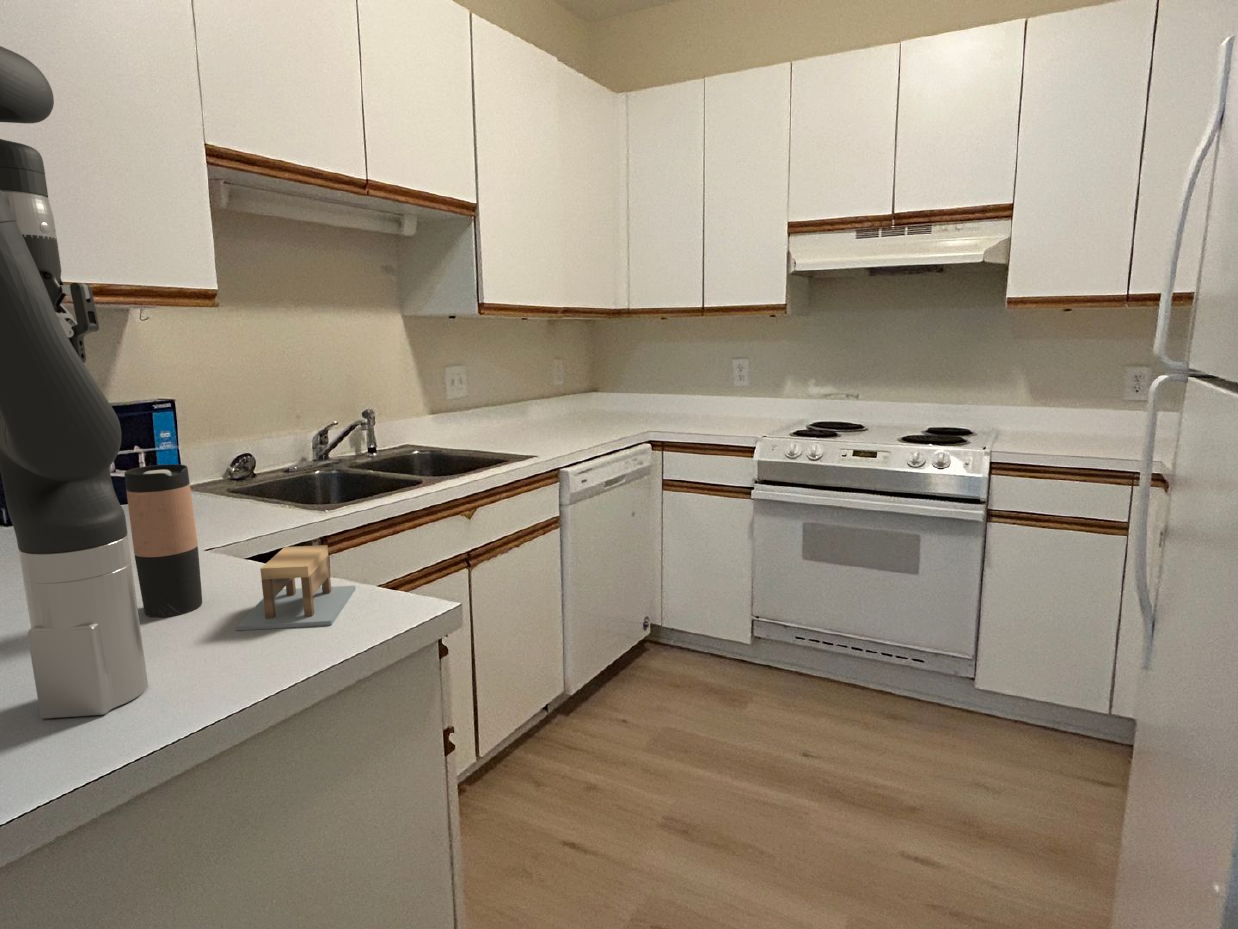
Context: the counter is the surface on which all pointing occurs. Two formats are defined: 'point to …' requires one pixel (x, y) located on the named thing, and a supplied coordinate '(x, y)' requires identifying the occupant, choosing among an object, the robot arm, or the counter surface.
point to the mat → (298, 610)
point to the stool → (296, 575)
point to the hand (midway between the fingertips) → (38, 368)
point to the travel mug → (164, 539)
